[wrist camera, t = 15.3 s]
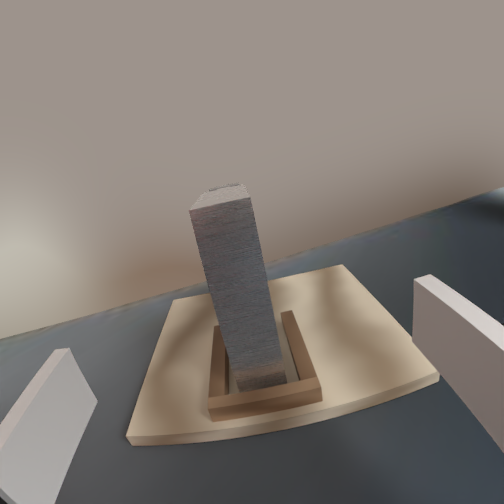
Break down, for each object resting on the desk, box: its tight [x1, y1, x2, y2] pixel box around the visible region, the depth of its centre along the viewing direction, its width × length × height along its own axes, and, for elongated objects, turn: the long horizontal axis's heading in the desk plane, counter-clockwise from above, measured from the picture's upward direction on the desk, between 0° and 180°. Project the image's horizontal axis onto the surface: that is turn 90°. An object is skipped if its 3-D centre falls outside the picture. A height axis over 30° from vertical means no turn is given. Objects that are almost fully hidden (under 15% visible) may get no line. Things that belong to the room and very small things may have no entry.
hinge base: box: [126, 264, 440, 446], centre depth 26 cm, size 20×21×2 cm
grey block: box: [189, 183, 288, 393], centre depth 22 cm, size 3×11×12 cm, turn 4°
